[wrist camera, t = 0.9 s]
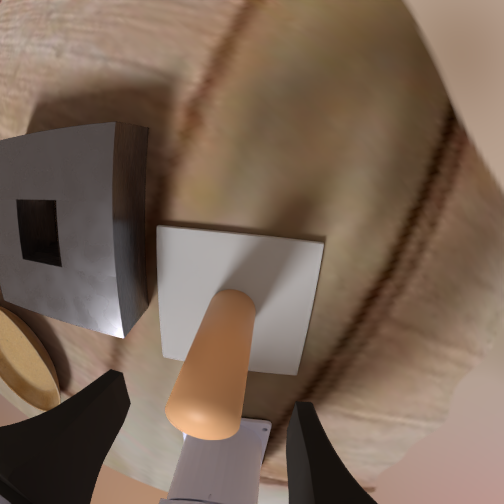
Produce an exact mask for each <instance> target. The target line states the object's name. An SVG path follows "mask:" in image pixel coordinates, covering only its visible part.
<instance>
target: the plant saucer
mask: <svg viewBox="0 0 504 504" xmlns="http://www.w3.org/2000/svg"><path fill="white" fill-rule="evenodd" d="M0 377H1V378H2V380H3V381H4V382H5V383H6V384H7V385H8V387H9V388H10V389H11V390H12V391H13V392H14V393H16V394H17V395H18V396H19V397H20V398H21V399H23V400H24V401H25V402H27V403H28V404H30V405H31V406H33V407H34V408H36V409H39V410H41V411H44V412H46V411H48V410H50V409H52V408H54V407H56V406H58V405H59V404H60V403H61V399H60V388H59V382H58V378H57V374H56V370H55V367H54V365H53V362H52V360H51V358H50V356H49V354H48V352H47V351H46V349H45V347H44V346H43V344H42V343H41V341H40V340H39V339H38V337H37V336H36V335H35V333H34V332H33V331H32V330H31V329H30V327H29V326H28V325H27V324H26V323H25V322H24V321H23V320H22V319H20V318H19V317H18V316H17V315H15V314H14V313H12V312H11V311H9V310H7V309H5V308H3V307H1V306H0Z"/></svg>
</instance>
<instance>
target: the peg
mask: <svg viewBox="0 0 504 504" xmlns="http://www.w3.org/2000/svg"><path fill="white" fill-rule="evenodd" d="M255 314H256V309H255V305H254V303H253V301H252V299H251V298H250V297H249V296H248V295H246V294H245V293H243V292H241V291H238V290H234V289H227V290H223V291H220V292H218V293H217V294H215V295H214V296H213V298H212V299H211V301H210V303H209V306H208V308H207V310H206V313H205V315H204V317H203V320H202V322H201V324H200V326H199V329H198V331H197V333H196V336H195V338H194V340H193V343H192V345H191V347H190V350H189V352H188V354H187V357H186V359H185V361H184V364H183V366H182V368H181V371H180V373H179V376H178V378H177V380H176V383H175V385H174V387H173V390H172V392H171V395H170V397H169V399H168V402H167V404H166V407H165V413H166V416H167V418H168V419H169V421H170V422H171V423H172V424H173V425H174V426H175V427H176V428H177V429H179V430H180V431H182V432H184V433H185V434H188V435H190V436H193V437H196V438H199V439H205V440H222V439H226V438H229V437H231V436H233V435H234V434H236V433H237V431H238V430H239V428H240V422H241V415H242V408H243V401H244V394H245V387H246V380H247V373H248V366H249V358H250V351H251V344H252V336H253V329H254V321H255Z"/></svg>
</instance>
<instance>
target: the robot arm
mask: <svg viewBox="0 0 504 504" xmlns="http://www.w3.org/2000/svg"><path fill="white" fill-rule="evenodd" d="M130 404H131V403H130V399H129V396H128V392H127V388H126V384H125V380H124V376H123V373H122V372H118V371H115V370H112V369H110V370H109V371H107V372H106V373H105V374H103V375H102V376H100V377H99V378H98V379H96V380H95V381H94V382H92V383H91V384H90V385H88V386H87V387H85V388H84V389H82V390H81V391H80V392H78V393H77V394H75V395H74V396H72V397H71V398H69V399H67V400H66V401H64V402H63V403H61V404H59V405H58V406H56V407H54V408H52V409H50V410H48V411H46V412H44V413H42V414H40V415H38V416H35V417H32V418H30V419H27V420H24V421H21V422H19V423H15V424H11V425H7V426H2V427H0V504H90V502H91V498H92V494H93V490H94V487H95V484H96V480H97V477H98V474H99V472H100V469H101V466H102V464H103V461H104V459H105V457H106V455H107V453H108V451H109V450H110V448H111V446H112V444H113V442H114V440H115V438H116V436H117V434H118V433H119V431H120V429H121V427H122V425H123V423H124V421H125V418H126V415H127V413H128V410H129V407H130ZM270 430H271V422H269V421H266V420H256V419H246V418H241V422H240V428H239V430H238V431H237V433H236V434H234V435H233V436H231V437H229V438H226V439H222V440H205V439H199V438H196V437H193V436H190V435H188V434H185V433H184V432H183V438H184V444H183V447H182V451H181V454H180V457H179V460H178V464H177V467H176V470H175V473H174V477H173V480H172V483H171V486H170V490H169V493H168V496H167V499H162V498H161V499H160V502H159V504H258V492H259V480H260V468H261V464H262V461H263V457H264V453H265V449H266V446H267V442H268V438H269V434H270ZM286 459H287V474H288V489H289V504H377V502H376V501H374V500H373V498H372V497H371V496H370V495H369V494H368V493H367V492H366V491H365V490H364V489H363V488H362V487H361V486H360V485H359V484H358V482H357V481H356V480H355V479H354V478H353V476H352V475H351V474H350V472H349V471H348V470H347V468H346V467H345V465H344V464H343V462H342V461H341V459H340V458H339V456H338V455H337V453H336V451H335V450H334V448H333V446H332V444H331V443H330V441H329V439H328V437H327V435H326V433H325V431H324V429H323V427H322V425H321V423H320V421H319V418H318V416H317V414H316V411H315V408H314V406H313V404H312V403H311V402H297V401H296V403H295V406H294V409H293V413H292V416H291V419H290V422H289V426H288V429H287V441H286Z"/></svg>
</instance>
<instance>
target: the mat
mask: <svg viewBox="0 0 504 504" xmlns="http://www.w3.org/2000/svg"><path fill="white" fill-rule="evenodd" d="M323 247H324V243H323V242H317V241H308V240H300V239H291V238H282V237H273V236H264V235H255V234H246V233H236V232H227V231H217V230H207V229H197V228H187V227H177V226H166V225H158V226H157V278H158V299H159V315H160V329H161V340H162V351H163V357H166V358H171V359H176V360H181V361H185V359H186V357H187V354H188V352H189V350H190V347H191V345H192V343H193V340H194V338H195V336H196V333H197V331H198V329H199V326H200V324H201V322H202V320H203V317H204V315H205V313H206V310H207V308H208V306H209V303H210V301H211V299H212V298H213V296H214V295H215V294H217V293H218V292H220V291H223V290H227V289H234V290H238V291H241V292H243V293H245V294H246V295H248V296H249V297H250V298H251V299H252V301H253V303H254V305H255V309H256V314H255V321H254V329H253V336H252V344H251V351H250V358H249V366H248V371H254V372H264V373H274V374H286V375H297V372H298V368H299V364H300V360H301V355H302V351H303V347H304V343H305V338H306V334H307V329H308V325H309V320H310V315H311V311H312V306H313V301H314V296H315V291H316V286H317V281H318V275H319V270H320V264H321V259H322V253H323Z"/></svg>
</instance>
